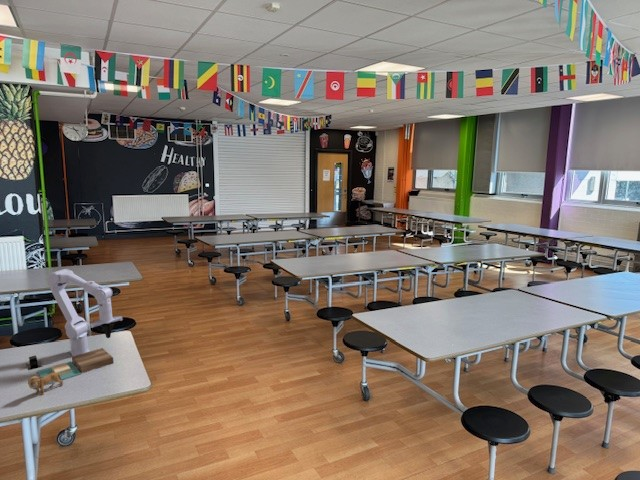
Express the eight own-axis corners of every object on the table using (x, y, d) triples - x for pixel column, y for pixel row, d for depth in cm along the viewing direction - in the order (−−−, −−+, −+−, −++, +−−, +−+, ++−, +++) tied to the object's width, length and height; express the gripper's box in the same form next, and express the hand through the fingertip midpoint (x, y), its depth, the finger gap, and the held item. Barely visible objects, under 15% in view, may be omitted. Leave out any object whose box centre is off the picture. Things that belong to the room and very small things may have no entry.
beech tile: (65, 362, 202) (65, 366, 203) (51, 366, 198) (51, 370, 198) (70, 368, 196) (71, 372, 196) (55, 372, 192) (56, 376, 192)
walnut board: (72, 362, 208) (71, 356, 207) (103, 353, 217) (102, 347, 217) (81, 373, 196) (81, 367, 196) (113, 363, 206) (113, 357, 205)
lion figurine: (35, 400, 173) (33, 379, 172) (26, 398, 175) (23, 378, 174) (67, 383, 187) (65, 364, 186) (58, 381, 189) (56, 362, 187)
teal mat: (37, 371, 199) (37, 370, 198) (70, 361, 208) (70, 361, 208) (45, 385, 186) (45, 384, 186) (81, 374, 195) (81, 373, 195)
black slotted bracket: (23, 364, 208) (22, 355, 207) (41, 359, 212) (40, 351, 212) (26, 373, 198) (25, 363, 198) (45, 368, 203) (43, 359, 202)
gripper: (92, 317, 204) (95, 343, 206) (123, 309, 214) (125, 335, 216) (87, 313, 209) (90, 339, 211) (118, 306, 219) (121, 331, 221)
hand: (108, 337), depth 214 cm, fingers closed
